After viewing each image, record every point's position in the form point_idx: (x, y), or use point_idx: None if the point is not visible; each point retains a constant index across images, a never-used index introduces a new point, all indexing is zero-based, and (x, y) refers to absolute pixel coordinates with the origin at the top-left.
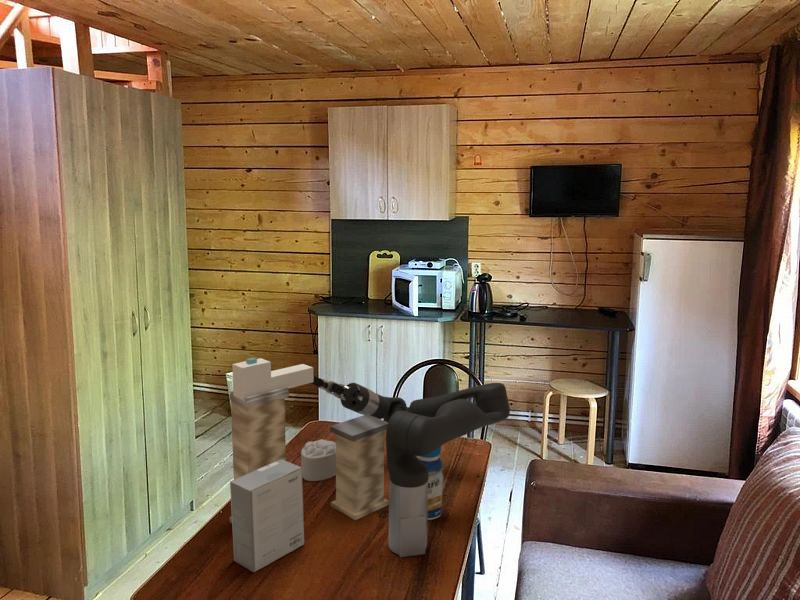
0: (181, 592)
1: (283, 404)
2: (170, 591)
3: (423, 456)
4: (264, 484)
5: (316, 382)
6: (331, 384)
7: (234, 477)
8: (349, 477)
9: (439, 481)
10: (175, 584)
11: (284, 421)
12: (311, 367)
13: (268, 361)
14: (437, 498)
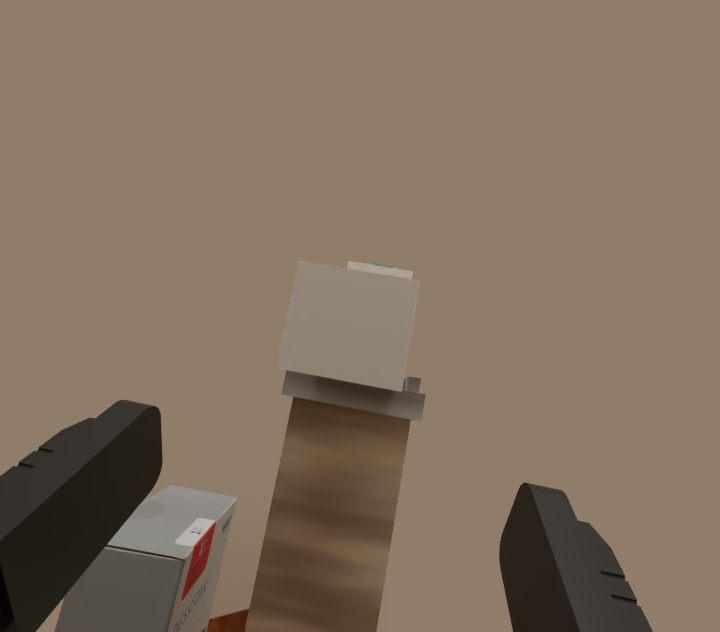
0: (220, 617)
1: (288, 425)
2: (237, 614)
3: None
4: (153, 495)
5: (524, 599)
6: (160, 422)
7: None
8: None
9: None
10: (244, 625)
11: (271, 506)
12: (307, 264)
13: (357, 263)
14: None
